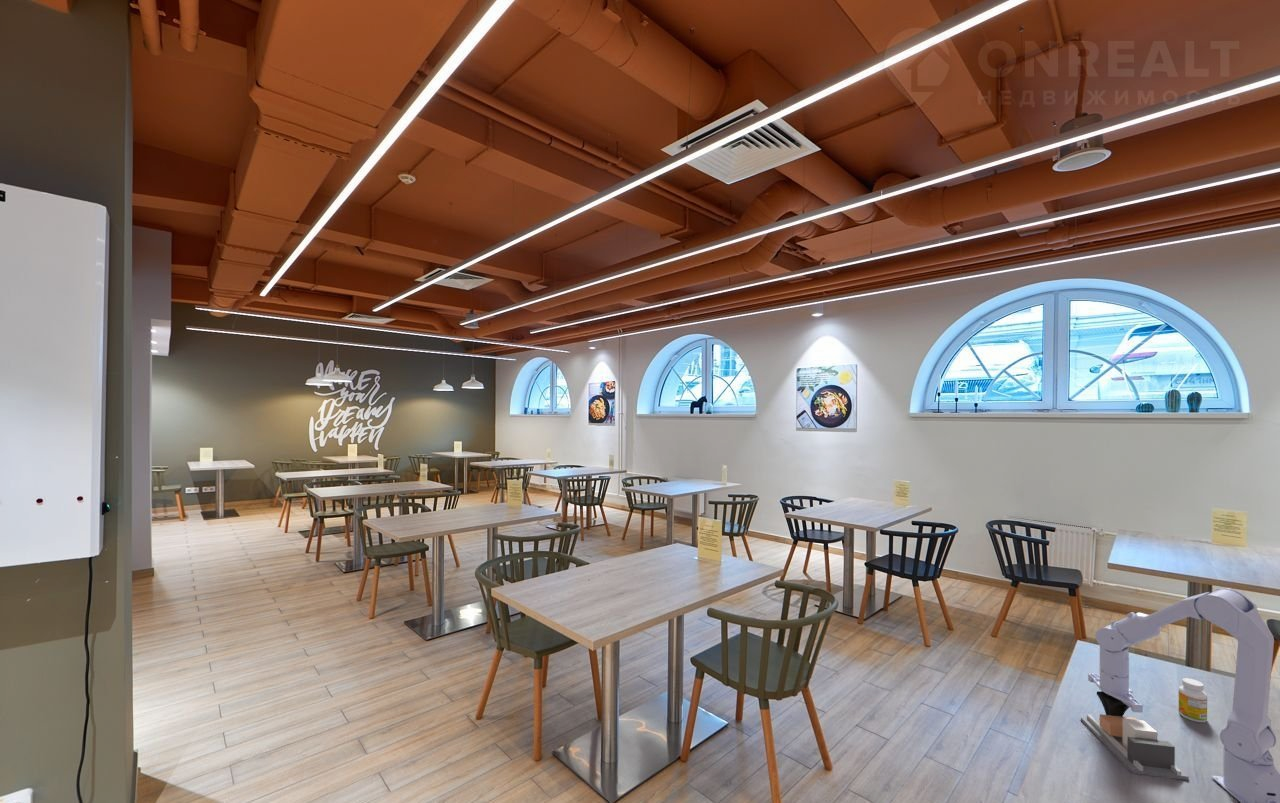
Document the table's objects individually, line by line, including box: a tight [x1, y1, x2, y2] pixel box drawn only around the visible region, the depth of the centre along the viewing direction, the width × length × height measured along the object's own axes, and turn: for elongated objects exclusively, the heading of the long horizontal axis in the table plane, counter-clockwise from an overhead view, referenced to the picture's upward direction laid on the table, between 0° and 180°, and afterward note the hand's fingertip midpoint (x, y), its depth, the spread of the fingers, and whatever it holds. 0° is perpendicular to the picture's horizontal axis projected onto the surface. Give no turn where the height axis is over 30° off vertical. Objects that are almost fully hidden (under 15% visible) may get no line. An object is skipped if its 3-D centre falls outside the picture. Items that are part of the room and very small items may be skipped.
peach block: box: [1099, 713, 1139, 737], centre depth 133 cm, size 4×8×3 cm, turn 77°
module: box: [1122, 718, 1158, 750], centre depth 127 cm, size 4×4×7 cm
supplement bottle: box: [1178, 677, 1208, 723], centre depth 142 cm, size 5×5×10 cm
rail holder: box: [1080, 714, 1190, 781], centre depth 131 cm, size 20×11×6 cm, turn 167°
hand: (1113, 722), depth 137 cm, fingers closed
